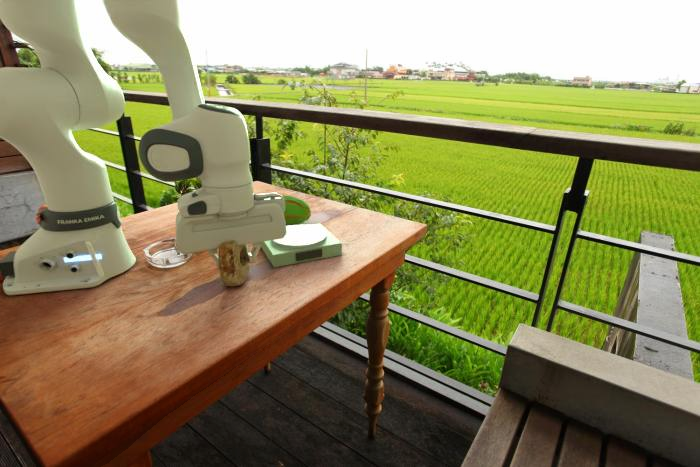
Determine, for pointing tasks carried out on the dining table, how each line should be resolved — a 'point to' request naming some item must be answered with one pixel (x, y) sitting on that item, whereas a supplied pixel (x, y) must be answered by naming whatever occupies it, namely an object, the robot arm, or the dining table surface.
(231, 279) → the stone disc
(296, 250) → the scale
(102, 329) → the dining table surface
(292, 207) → the corn
